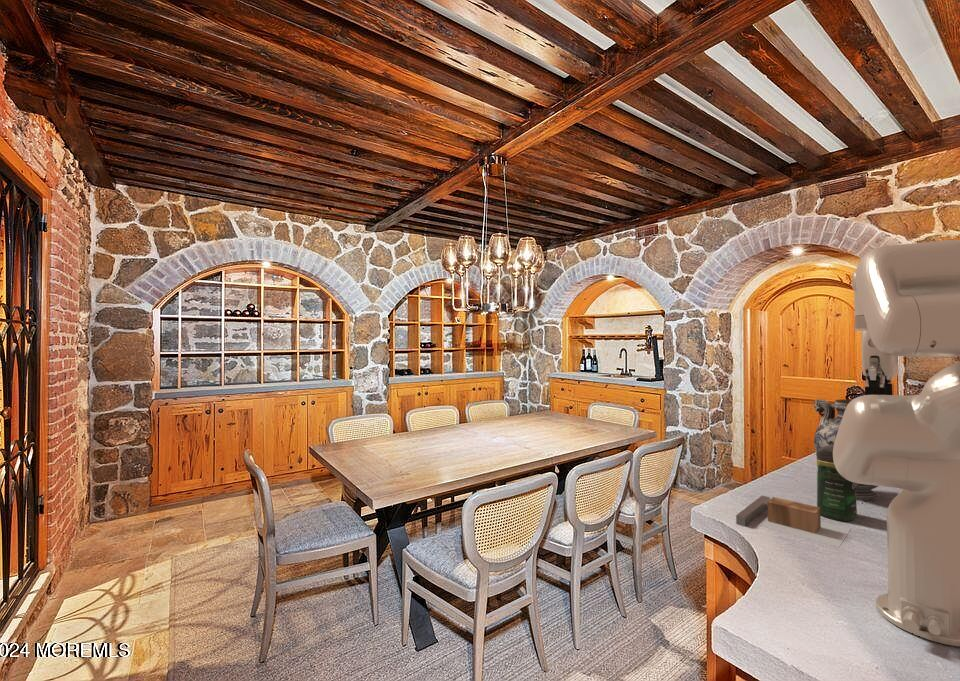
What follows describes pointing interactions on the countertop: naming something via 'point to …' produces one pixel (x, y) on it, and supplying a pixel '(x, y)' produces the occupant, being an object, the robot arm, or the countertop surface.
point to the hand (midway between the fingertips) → (879, 403)
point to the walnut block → (794, 514)
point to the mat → (825, 534)
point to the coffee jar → (834, 489)
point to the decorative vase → (828, 435)
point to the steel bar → (752, 511)
